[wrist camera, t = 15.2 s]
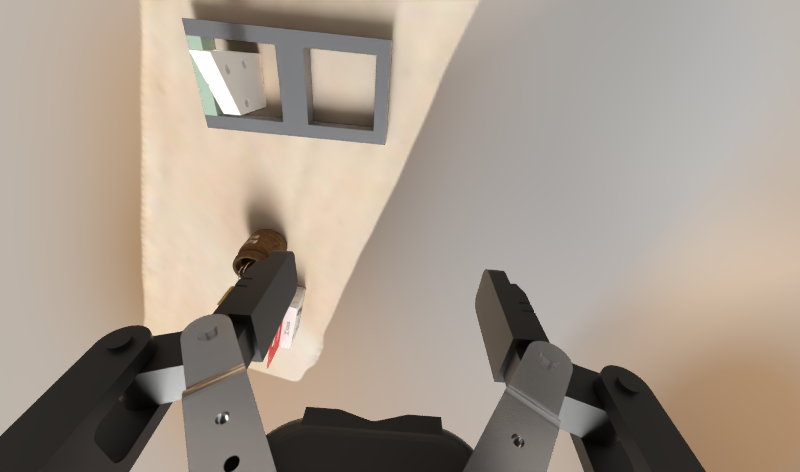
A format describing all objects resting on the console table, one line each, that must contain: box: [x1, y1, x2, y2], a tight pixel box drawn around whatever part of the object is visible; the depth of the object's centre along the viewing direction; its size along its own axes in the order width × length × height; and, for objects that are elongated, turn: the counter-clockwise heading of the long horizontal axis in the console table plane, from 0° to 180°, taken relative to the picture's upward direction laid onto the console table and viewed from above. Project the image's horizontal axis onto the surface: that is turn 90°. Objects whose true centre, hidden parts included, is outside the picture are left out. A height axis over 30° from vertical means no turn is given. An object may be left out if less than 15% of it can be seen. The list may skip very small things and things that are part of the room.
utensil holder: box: [217, 230, 287, 305], centre depth 43 cm, size 6×6×12 cm
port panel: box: [182, 18, 393, 145], centre depth 35 cm, size 11×22×2 cm, turn 85°
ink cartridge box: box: [267, 286, 306, 368], centre depth 51 cm, size 2×11×10 cm, turn 163°
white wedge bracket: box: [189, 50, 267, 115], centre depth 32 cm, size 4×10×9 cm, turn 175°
